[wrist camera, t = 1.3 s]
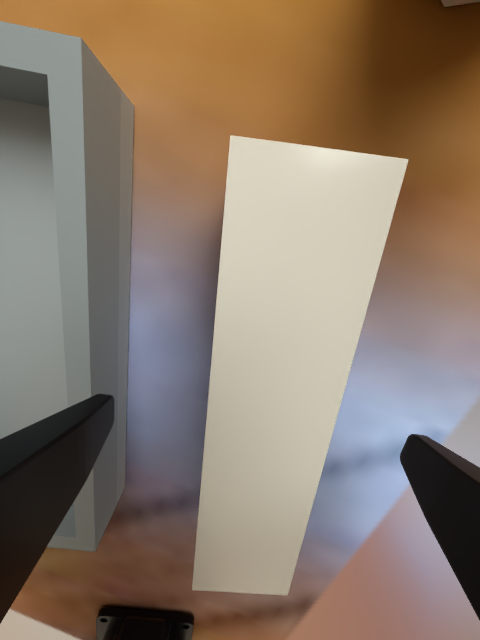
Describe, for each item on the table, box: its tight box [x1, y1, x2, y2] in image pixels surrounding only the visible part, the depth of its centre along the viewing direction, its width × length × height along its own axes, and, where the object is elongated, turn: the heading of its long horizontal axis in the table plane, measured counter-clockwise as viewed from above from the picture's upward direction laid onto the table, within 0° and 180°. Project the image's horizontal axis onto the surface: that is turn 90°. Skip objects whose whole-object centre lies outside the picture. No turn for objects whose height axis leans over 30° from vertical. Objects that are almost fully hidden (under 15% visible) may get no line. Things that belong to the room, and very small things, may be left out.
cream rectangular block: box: [192, 135, 409, 595], centre depth 9 cm, size 14×4×5 cm, turn 174°
